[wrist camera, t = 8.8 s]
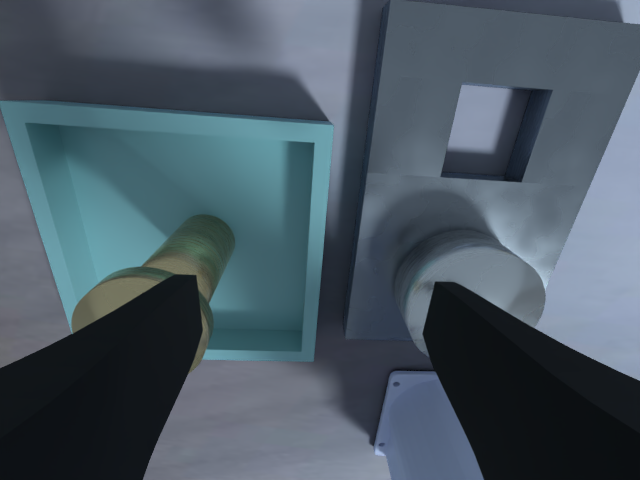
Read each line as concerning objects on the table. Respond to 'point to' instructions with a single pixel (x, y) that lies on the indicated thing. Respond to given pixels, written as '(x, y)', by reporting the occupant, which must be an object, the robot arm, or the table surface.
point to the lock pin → (168, 274)
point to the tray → (184, 207)
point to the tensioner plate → (476, 189)
